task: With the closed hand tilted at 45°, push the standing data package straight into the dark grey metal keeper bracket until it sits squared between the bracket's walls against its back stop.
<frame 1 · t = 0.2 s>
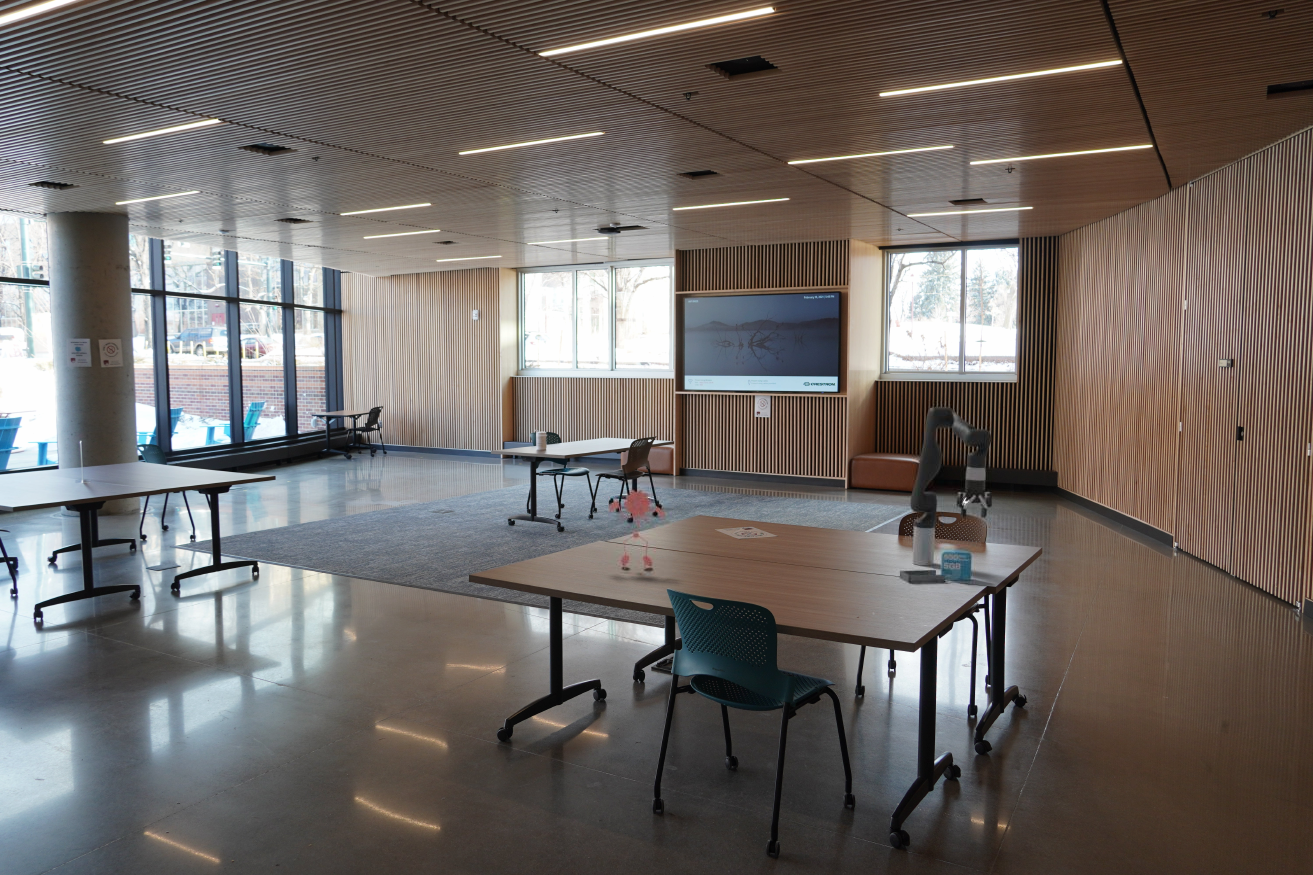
hand: (973, 517, 367), 29 cm above the table, tool pointing down, fingers open, 8 cm apart
pink fuzzy puppet: (637, 566, 406), on the table
keeper bracket: (922, 579, 382), on the table
data package: (955, 579, 384), on the table
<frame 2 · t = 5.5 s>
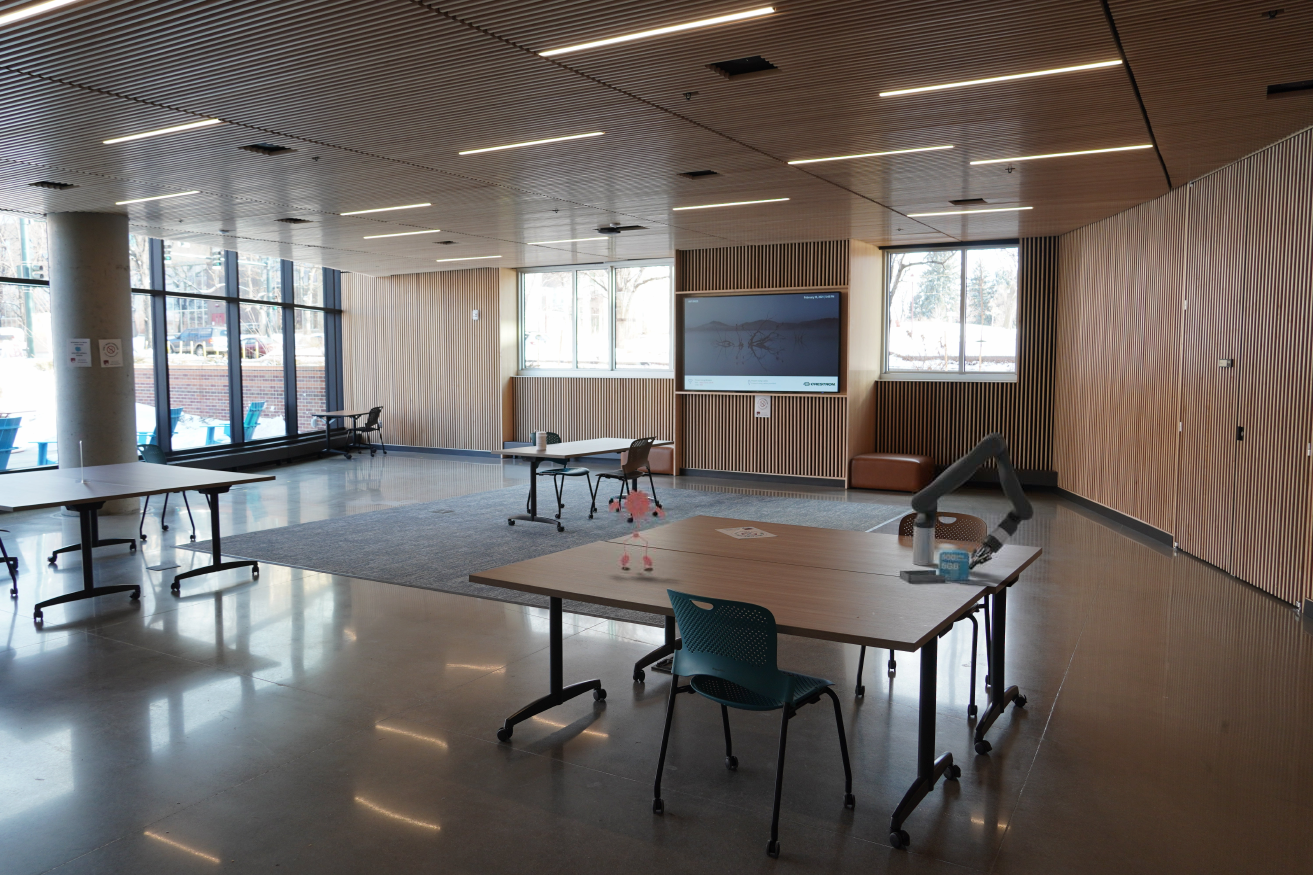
hand: (968, 568, 384), 4 cm above the table, tool tilted 45°, fingers closed
data package: (953, 579, 383), on the table, touching gripper
everything else where it was.
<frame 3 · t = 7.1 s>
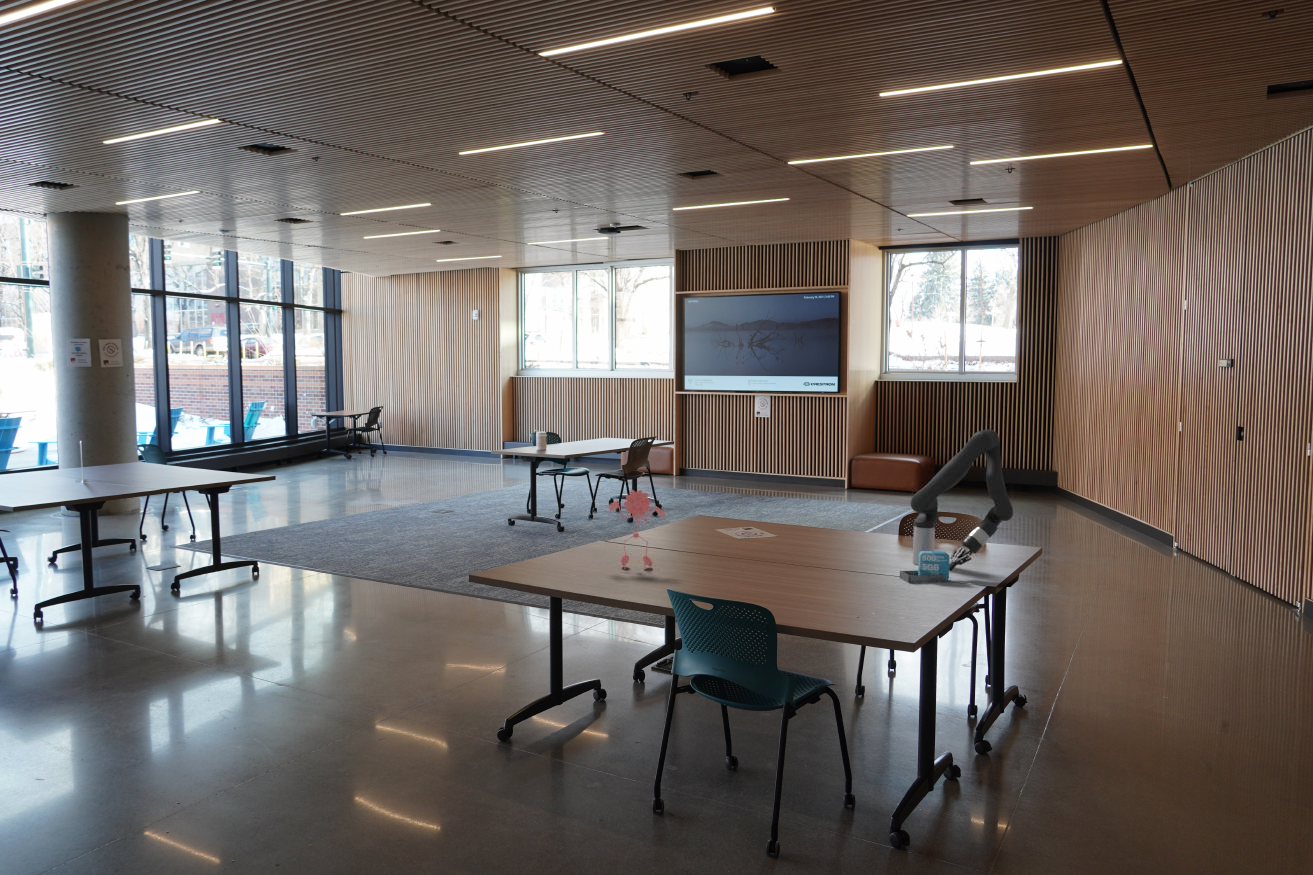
hand: (948, 569, 383), 4 cm above the table, tool tilted 45°, fingers closed
data package: (933, 580, 381), on the table, touching gripper
everything else where it was.
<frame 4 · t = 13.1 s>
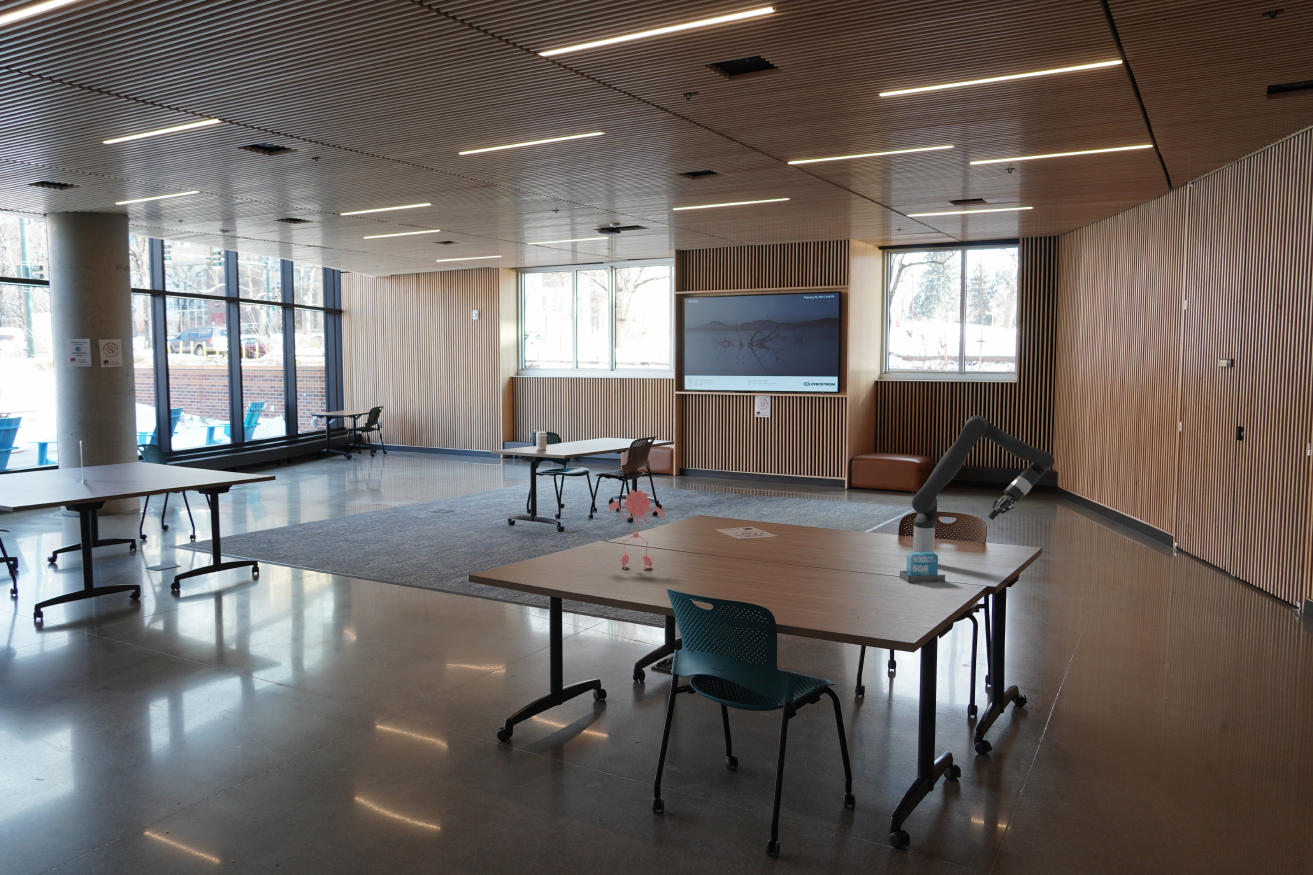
hand: (990, 518, 384), 26 cm above the table, tool tilted 45°, fingers closed
data package: (921, 581, 380), on the table
everything else where it was.
at the end: data package 1.8 cm off-centre on the keeper bracket, point 0.0 cm above the keeper bracket's base; data package tilted 0°; data package moved 16.1 cm from its start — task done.
